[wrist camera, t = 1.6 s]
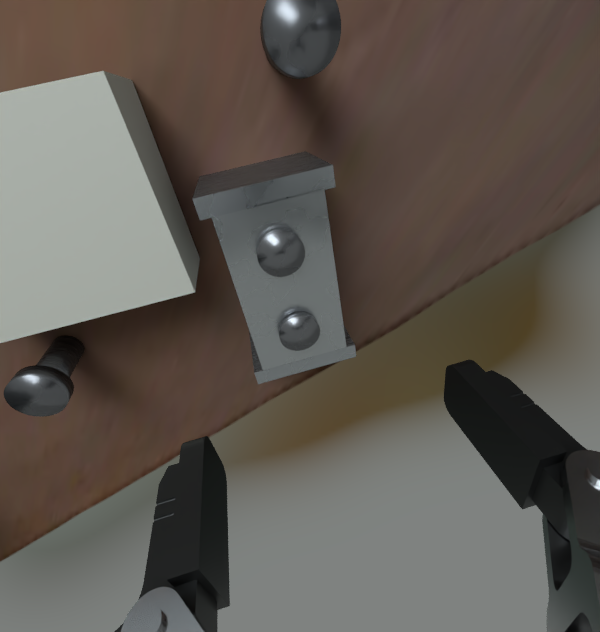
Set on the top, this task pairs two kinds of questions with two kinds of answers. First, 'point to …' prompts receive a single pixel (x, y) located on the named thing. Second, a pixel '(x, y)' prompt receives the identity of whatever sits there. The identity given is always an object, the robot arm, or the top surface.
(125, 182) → the stand
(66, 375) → the bolt
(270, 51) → the bolt
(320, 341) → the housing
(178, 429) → the top surface
